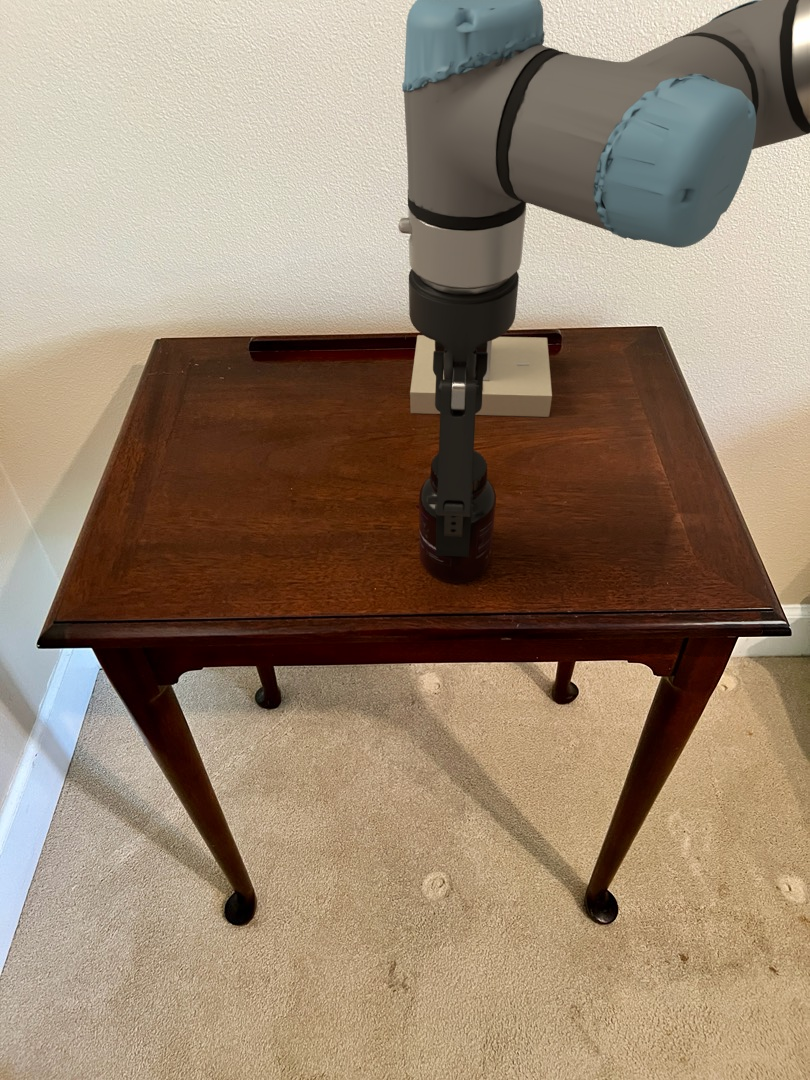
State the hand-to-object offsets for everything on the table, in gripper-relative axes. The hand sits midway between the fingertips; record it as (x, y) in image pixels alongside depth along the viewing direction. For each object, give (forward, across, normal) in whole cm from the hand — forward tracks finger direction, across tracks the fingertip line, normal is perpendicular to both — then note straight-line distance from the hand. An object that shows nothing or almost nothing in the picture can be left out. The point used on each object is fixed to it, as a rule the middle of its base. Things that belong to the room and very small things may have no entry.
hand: (455, 496), depth 67 cm
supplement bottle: (+8, 0, 0) cm, 8 cm away
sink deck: (+8, -28, +2) cm, 30 cm away
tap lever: (+5, -28, +2) cm, 29 cm away
